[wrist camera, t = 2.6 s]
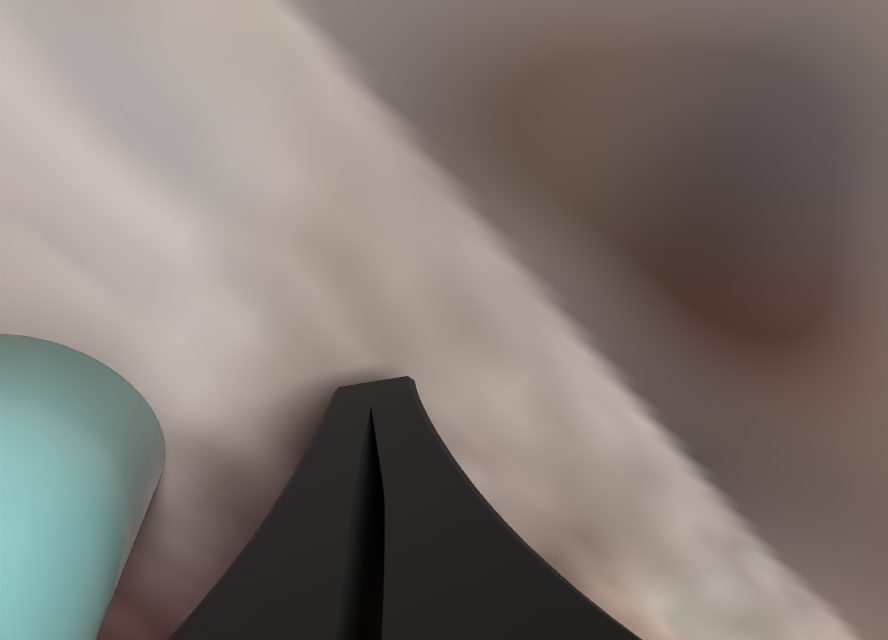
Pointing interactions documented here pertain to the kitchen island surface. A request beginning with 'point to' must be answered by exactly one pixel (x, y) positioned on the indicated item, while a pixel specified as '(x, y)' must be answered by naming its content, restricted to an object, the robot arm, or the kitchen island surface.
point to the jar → (68, 487)
